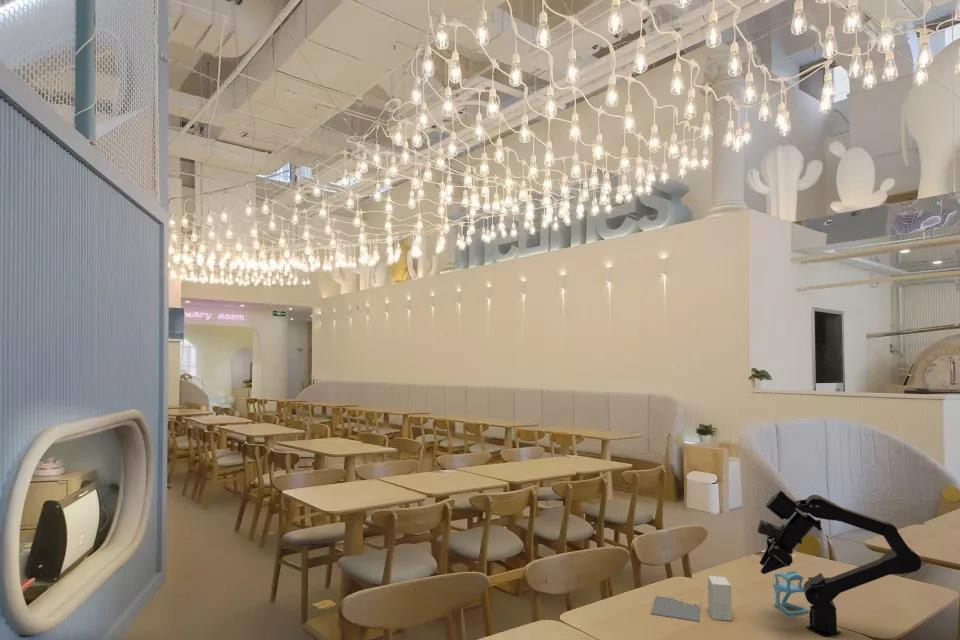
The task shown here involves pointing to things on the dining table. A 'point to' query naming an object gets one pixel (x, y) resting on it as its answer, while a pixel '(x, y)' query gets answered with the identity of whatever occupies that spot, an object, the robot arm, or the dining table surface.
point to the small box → (719, 598)
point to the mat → (675, 609)
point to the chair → (788, 592)
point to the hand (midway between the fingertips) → (761, 568)
